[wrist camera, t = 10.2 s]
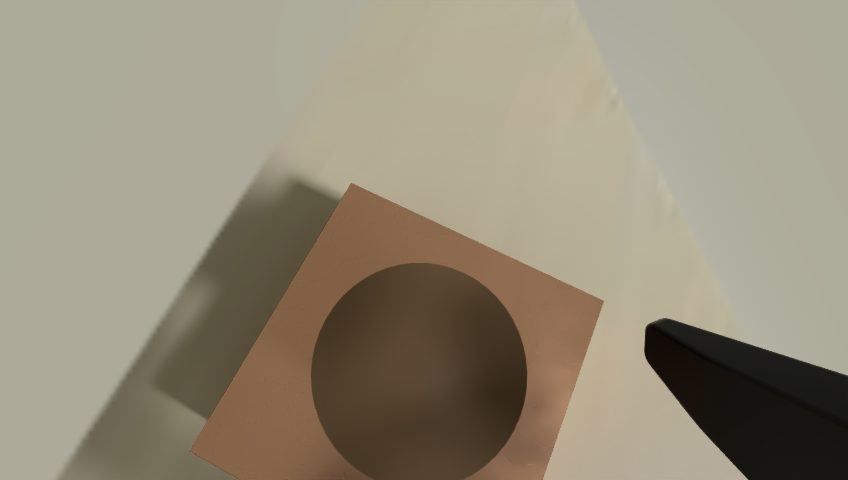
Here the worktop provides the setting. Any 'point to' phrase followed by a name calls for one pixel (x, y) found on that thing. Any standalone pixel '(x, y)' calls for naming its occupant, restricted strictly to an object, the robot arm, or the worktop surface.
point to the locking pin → (419, 374)
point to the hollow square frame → (320, 291)
